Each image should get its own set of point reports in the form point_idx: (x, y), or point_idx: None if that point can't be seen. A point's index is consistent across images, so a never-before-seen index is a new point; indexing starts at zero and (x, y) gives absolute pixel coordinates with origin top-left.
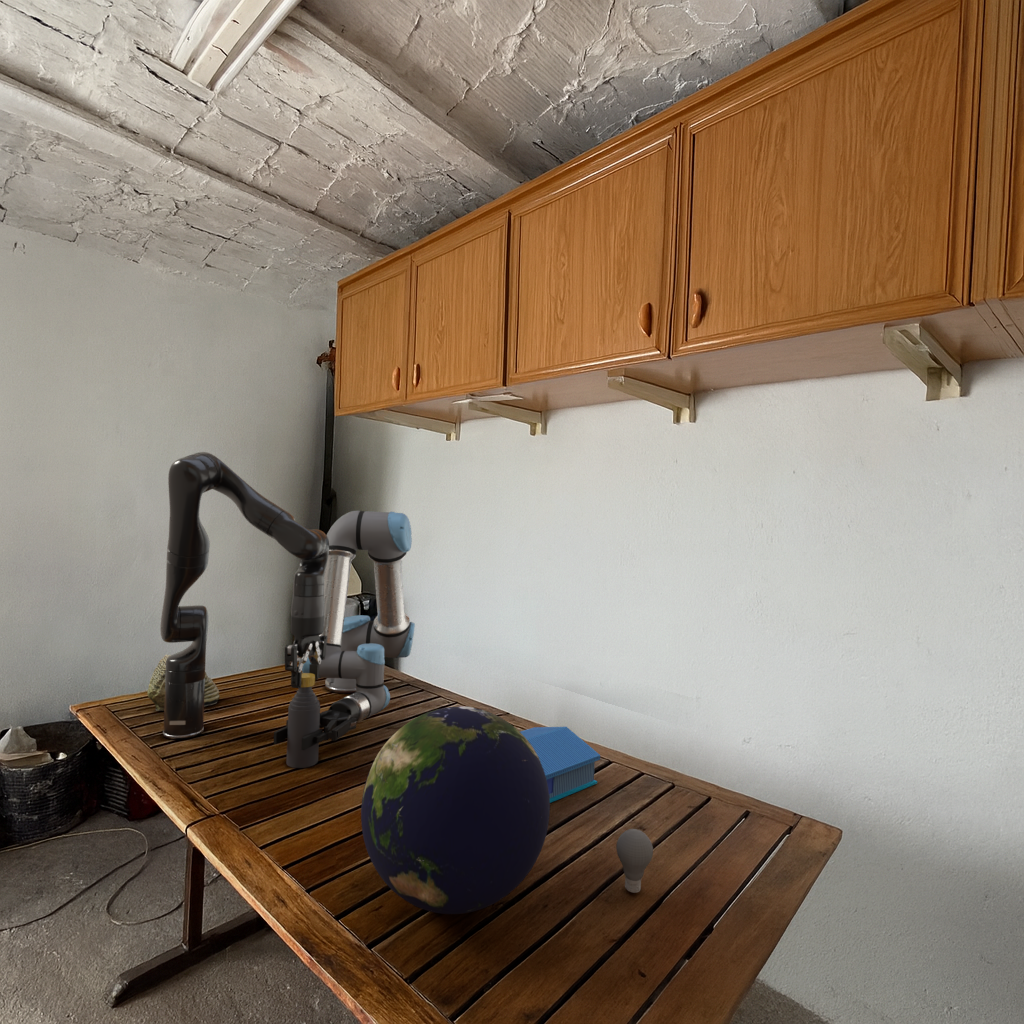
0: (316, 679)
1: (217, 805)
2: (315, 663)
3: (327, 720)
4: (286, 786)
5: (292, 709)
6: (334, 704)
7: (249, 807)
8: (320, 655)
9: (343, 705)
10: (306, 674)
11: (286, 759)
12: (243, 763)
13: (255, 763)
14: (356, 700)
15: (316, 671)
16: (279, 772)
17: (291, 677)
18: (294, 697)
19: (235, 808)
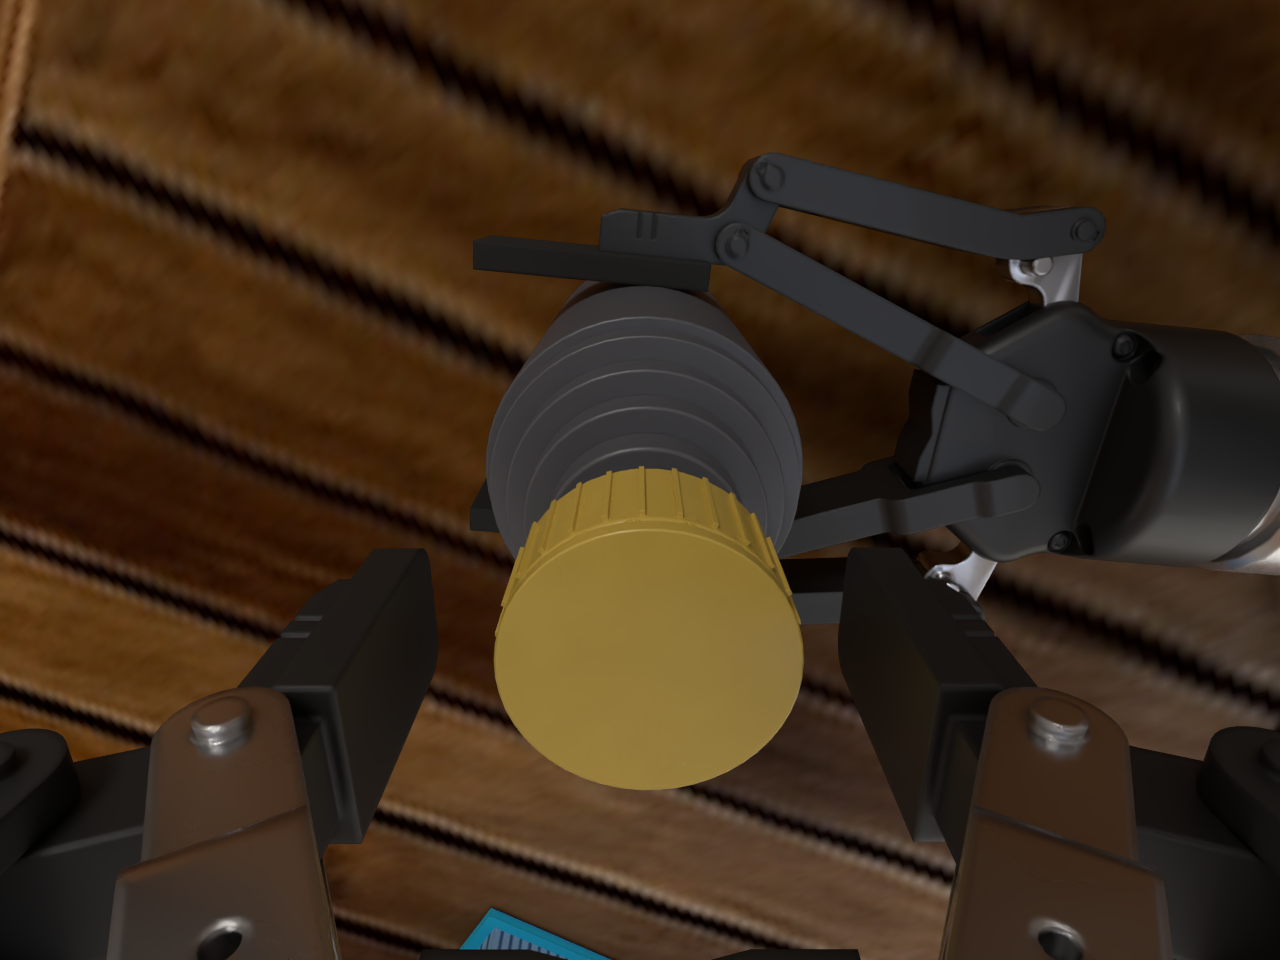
0: (840, 658)
1: (5, 265)
2: (952, 816)
3: (924, 435)
4: (351, 455)
5: (497, 433)
6: (1155, 413)
7: (92, 427)
8: (1227, 954)
9: (1125, 508)
10: (702, 654)
11: (582, 284)
12: (474, 2)
13: (509, 86)
14: (1267, 551)
15: (877, 737)
16: (468, 319)
17: (263, 662)
18: (558, 435)
19: (43, 372)
